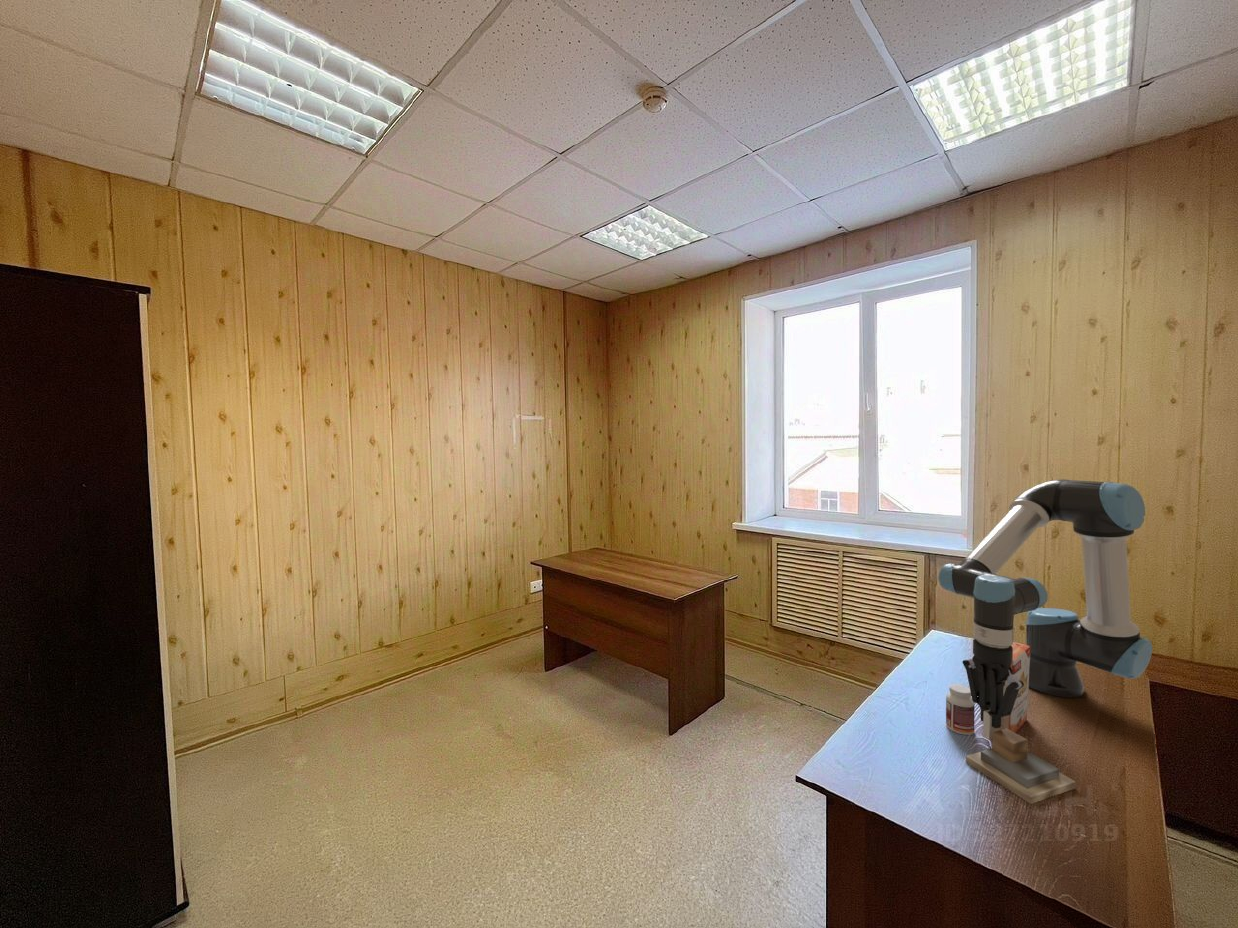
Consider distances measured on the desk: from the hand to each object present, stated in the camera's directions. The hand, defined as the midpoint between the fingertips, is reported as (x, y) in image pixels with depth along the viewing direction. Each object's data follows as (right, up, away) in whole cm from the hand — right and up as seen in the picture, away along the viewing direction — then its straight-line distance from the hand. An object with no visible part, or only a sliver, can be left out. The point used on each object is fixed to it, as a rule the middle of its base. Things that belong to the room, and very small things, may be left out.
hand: (990, 737), depth 117 cm
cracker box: (+14, -4, +13) cm, 19 cm away
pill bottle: (+1, -4, +12) cm, 13 cm away
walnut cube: (+1, -2, -4) cm, 5 cm away
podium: (+2, -5, -6) cm, 8 cm away
